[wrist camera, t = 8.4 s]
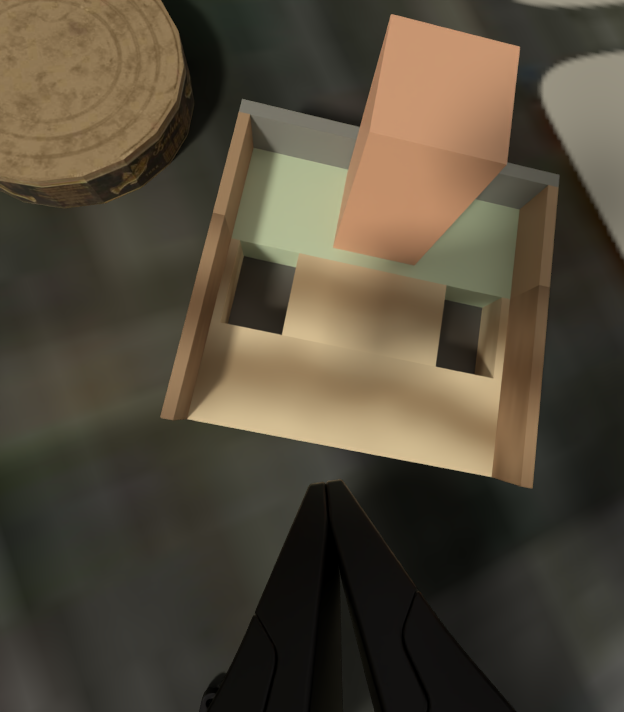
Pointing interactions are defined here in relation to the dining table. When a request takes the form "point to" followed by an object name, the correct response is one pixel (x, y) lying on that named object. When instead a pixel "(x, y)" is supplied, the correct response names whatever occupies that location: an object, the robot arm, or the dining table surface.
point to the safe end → (324, 197)
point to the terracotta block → (426, 138)
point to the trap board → (361, 361)
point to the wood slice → (89, 98)
